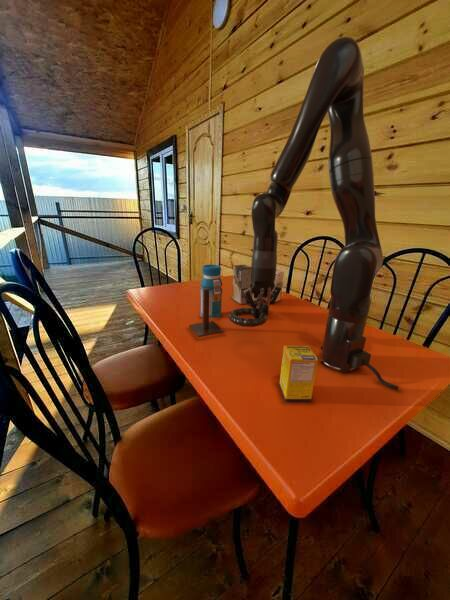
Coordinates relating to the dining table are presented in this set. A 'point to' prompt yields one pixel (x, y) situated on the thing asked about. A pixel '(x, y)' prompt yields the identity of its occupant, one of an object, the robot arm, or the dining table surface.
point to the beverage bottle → (212, 289)
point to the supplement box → (298, 373)
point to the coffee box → (241, 282)
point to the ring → (247, 322)
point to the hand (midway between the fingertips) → (260, 317)
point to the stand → (205, 319)
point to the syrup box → (279, 282)
